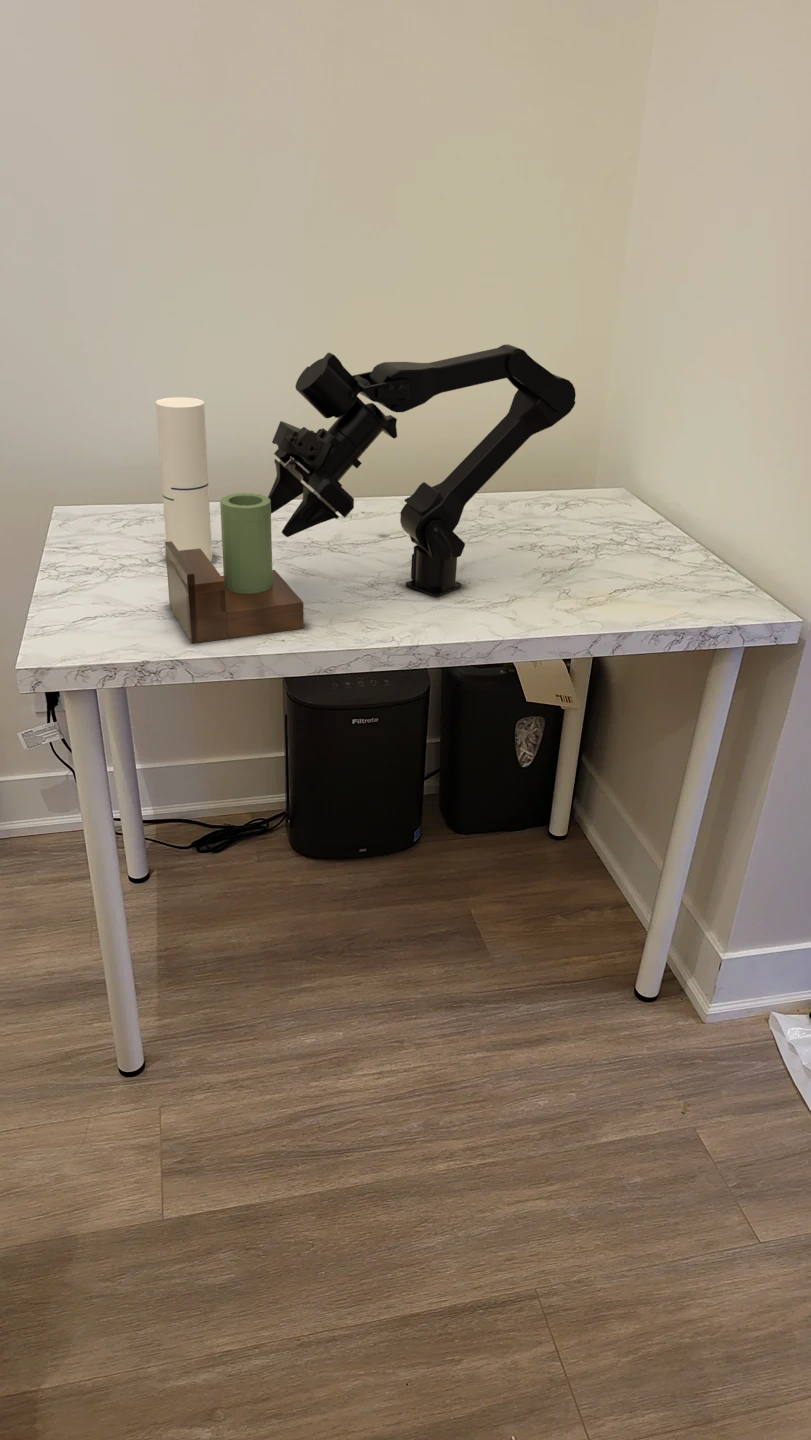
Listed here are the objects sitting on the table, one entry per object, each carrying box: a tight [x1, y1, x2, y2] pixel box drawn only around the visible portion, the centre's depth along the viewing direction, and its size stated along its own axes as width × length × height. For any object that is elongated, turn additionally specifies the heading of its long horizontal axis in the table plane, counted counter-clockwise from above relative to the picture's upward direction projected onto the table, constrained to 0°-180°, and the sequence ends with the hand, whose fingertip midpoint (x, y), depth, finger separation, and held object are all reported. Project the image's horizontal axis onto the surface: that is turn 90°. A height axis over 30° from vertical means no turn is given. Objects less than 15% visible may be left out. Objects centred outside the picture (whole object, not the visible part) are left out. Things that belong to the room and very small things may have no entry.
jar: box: [219, 492, 273, 594], centre depth 146 cm, size 7×7×12 cm
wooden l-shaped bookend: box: [164, 541, 305, 644], centre depth 146 cm, size 16×13×10 cm
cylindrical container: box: [155, 396, 213, 563], centre depth 162 cm, size 7×7×25 cm
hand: (273, 524), depth 146 cm, fingers open, 9 cm apart
